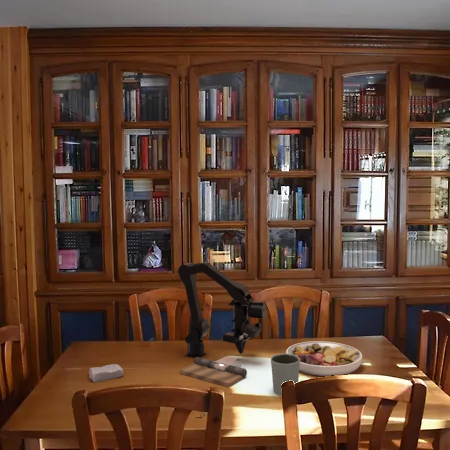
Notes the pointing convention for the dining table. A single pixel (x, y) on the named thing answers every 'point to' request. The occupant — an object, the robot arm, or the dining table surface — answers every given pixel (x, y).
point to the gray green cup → (284, 370)
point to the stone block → (105, 373)
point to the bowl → (326, 358)
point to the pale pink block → (225, 363)
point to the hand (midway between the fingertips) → (241, 353)
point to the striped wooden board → (214, 373)
